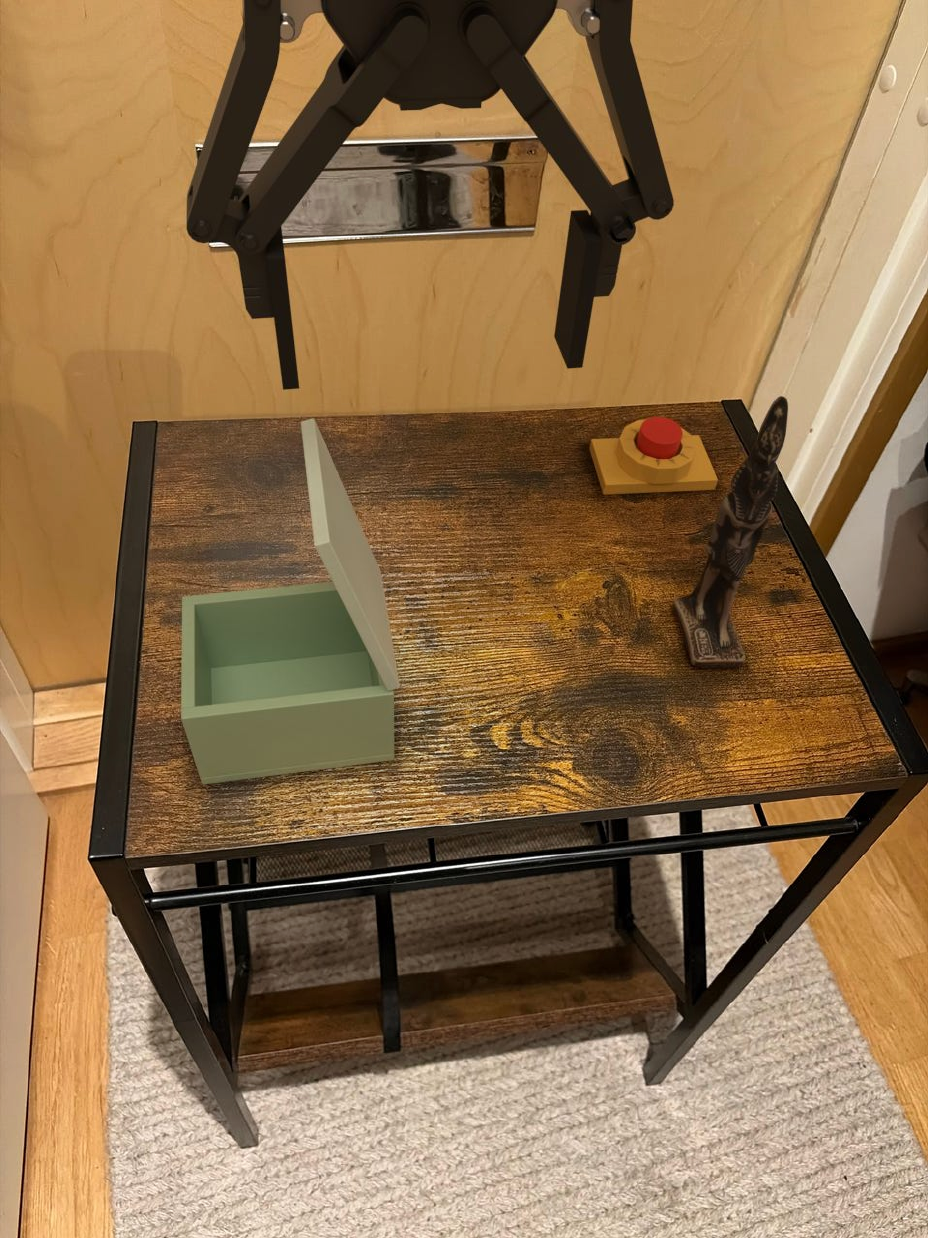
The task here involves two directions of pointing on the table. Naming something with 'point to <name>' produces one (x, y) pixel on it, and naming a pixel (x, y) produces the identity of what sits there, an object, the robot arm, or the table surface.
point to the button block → (650, 465)
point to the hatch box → (279, 685)
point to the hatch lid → (347, 554)
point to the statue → (733, 550)
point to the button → (659, 438)
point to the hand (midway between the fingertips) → (431, 362)
